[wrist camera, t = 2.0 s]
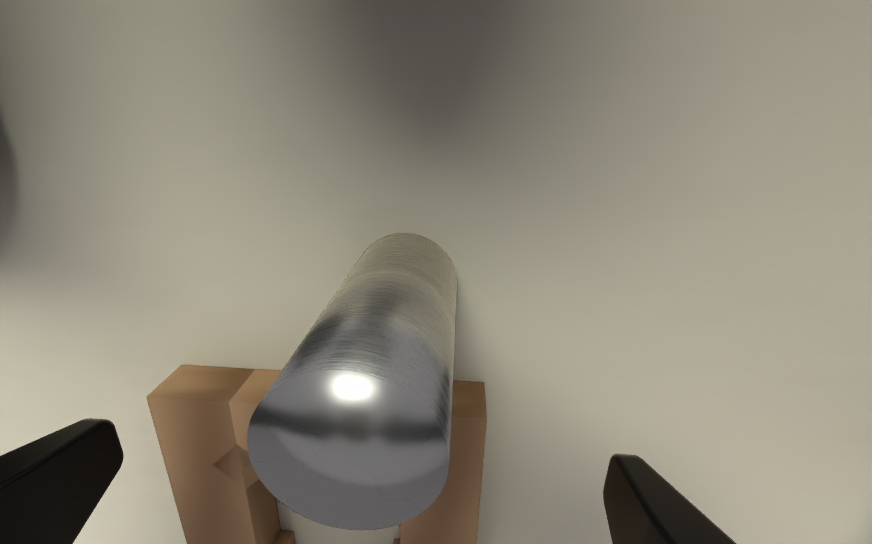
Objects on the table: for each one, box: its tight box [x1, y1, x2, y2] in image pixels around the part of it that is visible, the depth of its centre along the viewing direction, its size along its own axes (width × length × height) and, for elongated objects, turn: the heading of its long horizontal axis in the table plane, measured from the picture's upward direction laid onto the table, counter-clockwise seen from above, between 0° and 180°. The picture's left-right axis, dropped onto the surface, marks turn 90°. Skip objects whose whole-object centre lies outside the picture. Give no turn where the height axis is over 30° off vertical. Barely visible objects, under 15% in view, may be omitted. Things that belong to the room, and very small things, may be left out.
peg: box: [247, 233, 457, 530], centre depth 11 cm, size 4×4×8 cm
